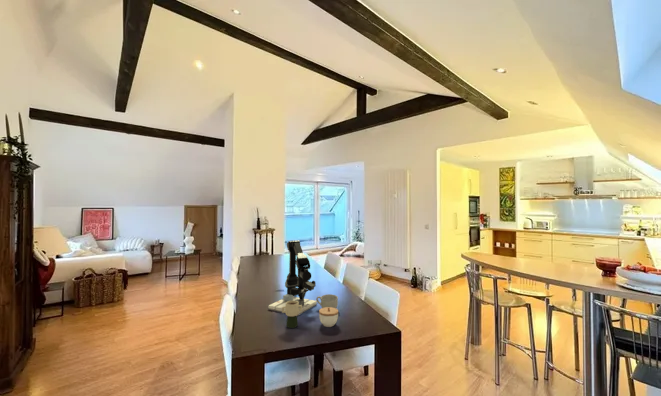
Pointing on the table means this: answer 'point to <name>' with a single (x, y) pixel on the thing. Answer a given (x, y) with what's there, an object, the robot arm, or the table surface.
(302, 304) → the block
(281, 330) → the table surface
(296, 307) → the character mug
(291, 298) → the block
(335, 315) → the lidded jar
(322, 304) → the teacup
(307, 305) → the console
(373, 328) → the table surface
